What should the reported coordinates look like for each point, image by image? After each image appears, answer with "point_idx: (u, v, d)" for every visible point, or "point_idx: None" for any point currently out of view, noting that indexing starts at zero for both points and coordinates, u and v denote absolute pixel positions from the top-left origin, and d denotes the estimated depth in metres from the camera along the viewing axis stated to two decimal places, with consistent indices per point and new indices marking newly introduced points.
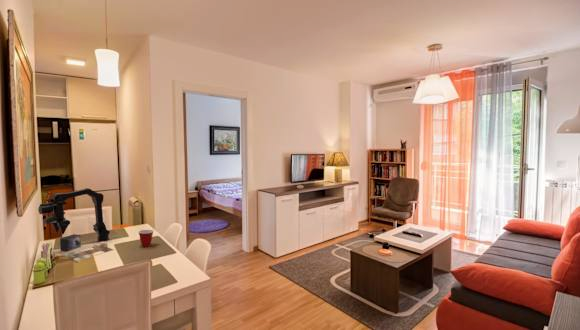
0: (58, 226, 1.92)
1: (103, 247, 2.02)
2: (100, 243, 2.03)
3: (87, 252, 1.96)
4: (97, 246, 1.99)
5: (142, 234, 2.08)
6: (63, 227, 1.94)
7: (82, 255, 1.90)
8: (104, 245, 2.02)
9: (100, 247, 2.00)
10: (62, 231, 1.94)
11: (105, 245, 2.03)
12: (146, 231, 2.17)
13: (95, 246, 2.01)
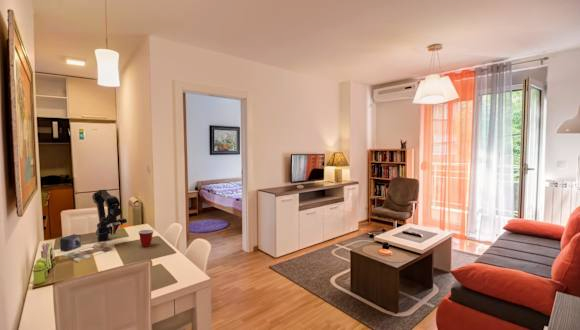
0: None
1: (103, 247, 2.02)
2: (100, 243, 2.03)
3: (87, 252, 1.96)
4: (97, 246, 1.99)
5: (142, 234, 2.08)
6: (109, 228, 2.07)
7: (82, 255, 1.90)
8: (104, 245, 2.02)
9: (100, 247, 2.00)
10: (110, 231, 2.08)
11: (105, 245, 2.03)
12: (146, 231, 2.17)
13: (95, 246, 2.01)
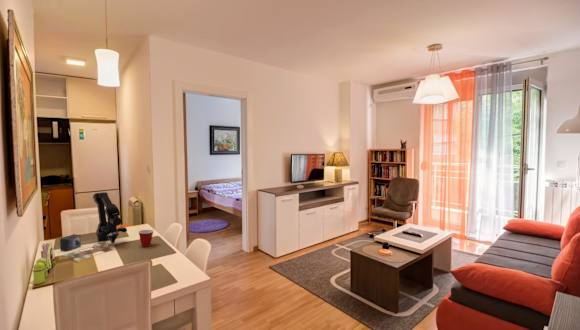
0: None
1: (103, 247, 2.02)
2: (100, 243, 2.03)
3: (87, 252, 1.96)
4: (97, 246, 1.99)
5: (142, 234, 2.08)
6: (110, 237, 2.08)
7: (82, 255, 1.90)
8: (104, 245, 2.02)
9: (100, 247, 2.00)
10: (111, 240, 2.09)
11: (105, 245, 2.03)
12: (146, 231, 2.17)
13: (95, 246, 2.01)
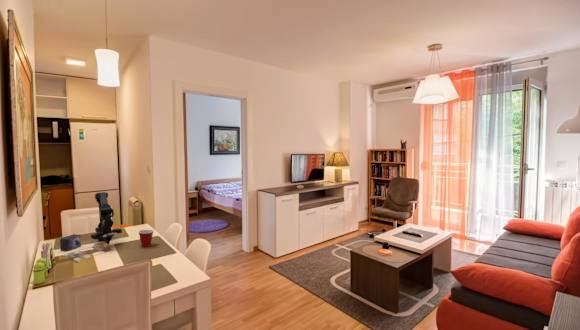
0: None
1: (103, 247, 2.02)
2: (100, 243, 2.02)
3: (87, 252, 1.96)
4: (97, 246, 1.99)
5: (142, 234, 2.08)
6: (105, 239, 2.05)
7: (82, 255, 1.90)
8: (104, 245, 2.02)
9: (100, 248, 2.00)
10: None
11: (105, 245, 2.03)
12: (146, 231, 2.17)
13: (95, 246, 2.01)
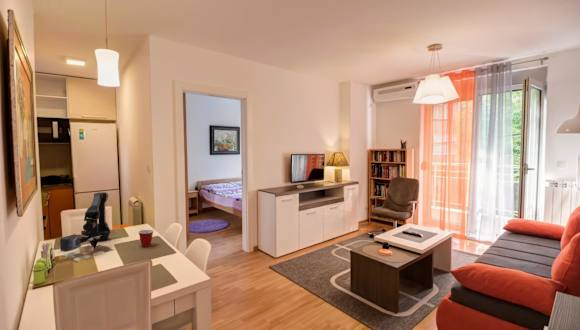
0: None
1: (89, 251, 1.94)
2: (86, 247, 1.95)
3: None
4: (82, 250, 1.91)
5: (142, 234, 2.08)
6: (91, 242, 1.97)
7: (82, 255, 1.90)
8: (90, 249, 1.94)
9: (86, 252, 1.92)
10: None
11: (91, 249, 1.95)
12: (146, 231, 2.17)
13: (80, 250, 1.93)
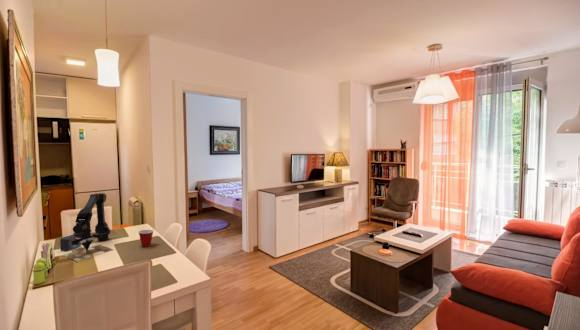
0: None
1: (81, 253, 1.90)
2: (78, 249, 1.91)
3: (87, 252, 1.96)
4: (75, 252, 1.88)
5: (142, 234, 2.08)
6: None
7: None
8: (82, 251, 1.90)
9: (78, 254, 1.88)
10: None
11: (83, 251, 1.91)
12: (146, 231, 2.17)
13: (73, 252, 1.89)
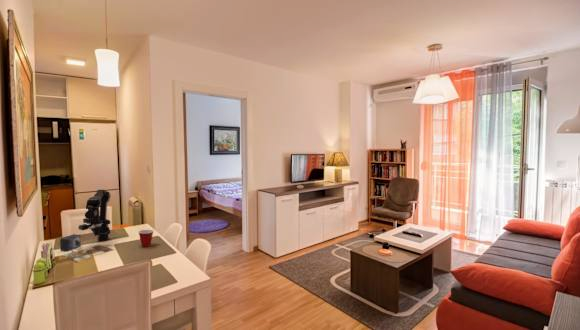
0: None
1: (81, 253, 1.90)
2: (78, 249, 1.91)
3: (87, 252, 1.96)
4: (75, 252, 1.88)
5: (142, 234, 2.08)
6: None
7: None
8: (82, 251, 1.90)
9: (78, 254, 1.88)
10: (93, 233, 2.03)
11: (83, 251, 1.91)
12: (146, 231, 2.17)
13: (73, 252, 1.89)
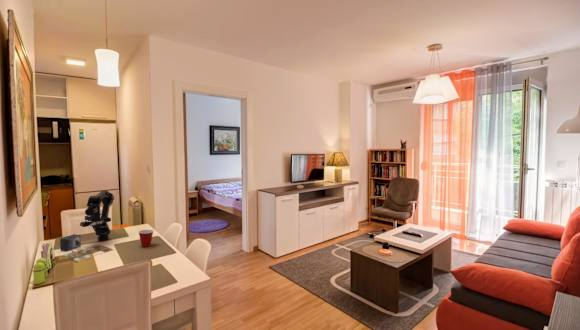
0: None
1: (81, 253, 1.90)
2: (78, 249, 1.91)
3: (87, 252, 1.96)
4: (75, 252, 1.88)
5: (142, 234, 2.08)
6: None
7: None
8: (82, 251, 1.90)
9: (78, 254, 1.88)
10: (94, 230, 2.08)
11: (83, 251, 1.91)
12: (146, 231, 2.17)
13: (73, 252, 1.89)
